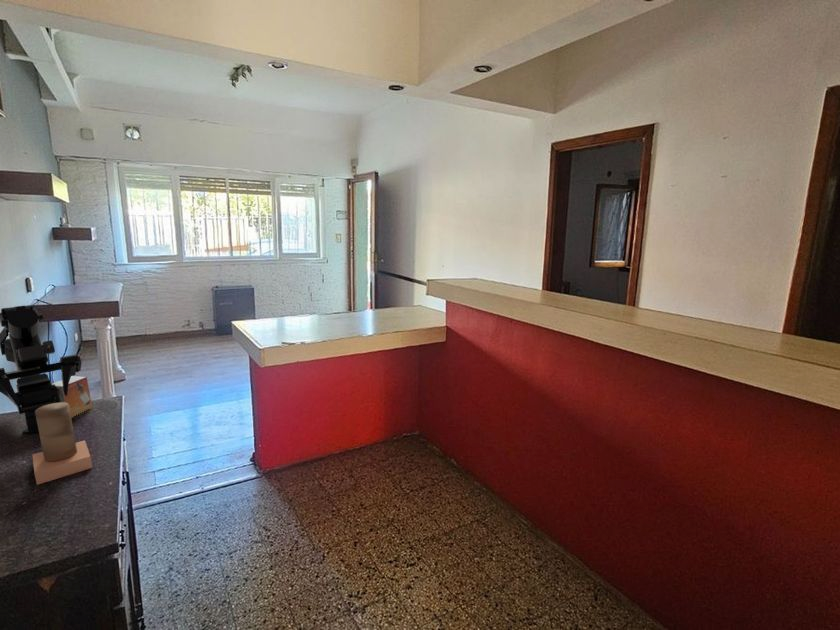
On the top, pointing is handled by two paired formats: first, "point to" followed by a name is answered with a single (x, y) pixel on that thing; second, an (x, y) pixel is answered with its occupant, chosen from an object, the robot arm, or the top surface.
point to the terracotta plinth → (61, 464)
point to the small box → (76, 395)
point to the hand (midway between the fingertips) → (43, 400)
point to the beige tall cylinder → (56, 431)
